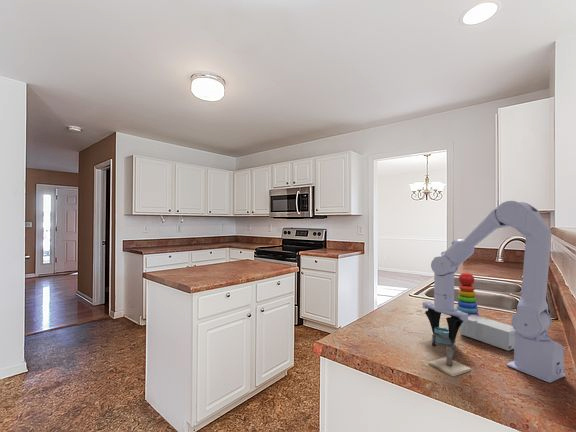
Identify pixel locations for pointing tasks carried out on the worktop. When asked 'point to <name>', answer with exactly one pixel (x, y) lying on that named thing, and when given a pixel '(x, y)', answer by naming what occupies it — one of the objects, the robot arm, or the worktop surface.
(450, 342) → the handle
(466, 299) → the stacking toy
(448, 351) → the peg stand
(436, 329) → the ring
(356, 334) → the worktop surface
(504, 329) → the skincare box
